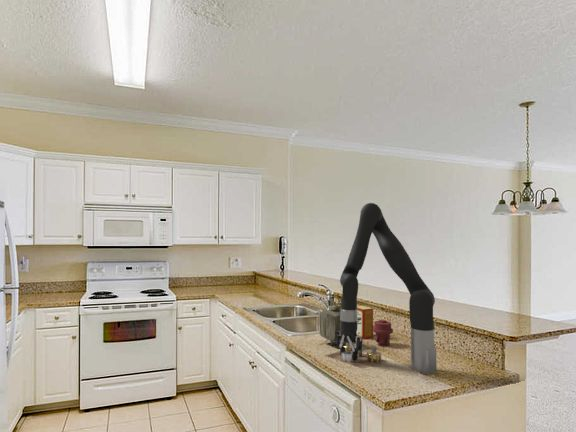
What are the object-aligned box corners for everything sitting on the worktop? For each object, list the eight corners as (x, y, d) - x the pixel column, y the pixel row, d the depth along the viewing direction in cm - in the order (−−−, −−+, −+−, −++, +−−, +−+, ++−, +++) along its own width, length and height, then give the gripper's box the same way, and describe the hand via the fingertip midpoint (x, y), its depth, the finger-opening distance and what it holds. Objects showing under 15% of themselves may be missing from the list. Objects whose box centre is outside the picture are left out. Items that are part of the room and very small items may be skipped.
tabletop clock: (350, 349, 190) (350, 297, 191) (336, 352, 185) (336, 298, 187) (331, 342, 202) (332, 293, 204) (317, 344, 198) (318, 294, 199)
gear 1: (357, 352, 182) (357, 341, 182) (348, 355, 178) (348, 344, 178) (347, 349, 186) (347, 338, 186) (338, 351, 182) (338, 341, 182)
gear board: (386, 363, 170) (386, 345, 171) (362, 371, 160) (362, 352, 160) (347, 351, 187) (347, 335, 187) (324, 357, 177) (324, 341, 177)
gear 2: (382, 359, 172) (382, 352, 172) (379, 363, 166) (379, 356, 166) (368, 357, 175) (368, 350, 175) (365, 361, 169) (365, 354, 169)
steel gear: (358, 360, 171) (358, 353, 171) (349, 363, 167) (349, 355, 167) (348, 356, 175) (348, 349, 176) (338, 359, 171) (338, 352, 172)
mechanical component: (396, 345, 198) (385, 349, 191) (380, 341, 205) (368, 344, 199) (396, 320, 198) (385, 323, 192) (380, 317, 206) (368, 319, 199)
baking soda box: (352, 335, 217) (352, 305, 218) (361, 333, 220) (361, 305, 221) (363, 339, 209) (363, 308, 209) (372, 337, 212) (372, 307, 212)
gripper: (367, 321, 169) (367, 360, 168) (342, 315, 180) (342, 352, 179) (355, 323, 164) (355, 364, 163) (330, 317, 175) (330, 355, 174)
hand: (348, 357), depth 171 cm, fingers closed on steel gear, 6 cm apart
